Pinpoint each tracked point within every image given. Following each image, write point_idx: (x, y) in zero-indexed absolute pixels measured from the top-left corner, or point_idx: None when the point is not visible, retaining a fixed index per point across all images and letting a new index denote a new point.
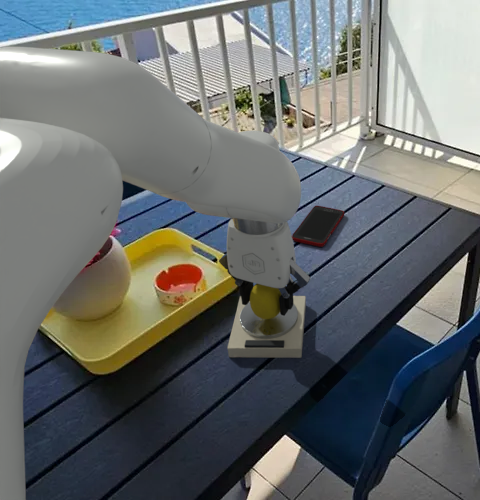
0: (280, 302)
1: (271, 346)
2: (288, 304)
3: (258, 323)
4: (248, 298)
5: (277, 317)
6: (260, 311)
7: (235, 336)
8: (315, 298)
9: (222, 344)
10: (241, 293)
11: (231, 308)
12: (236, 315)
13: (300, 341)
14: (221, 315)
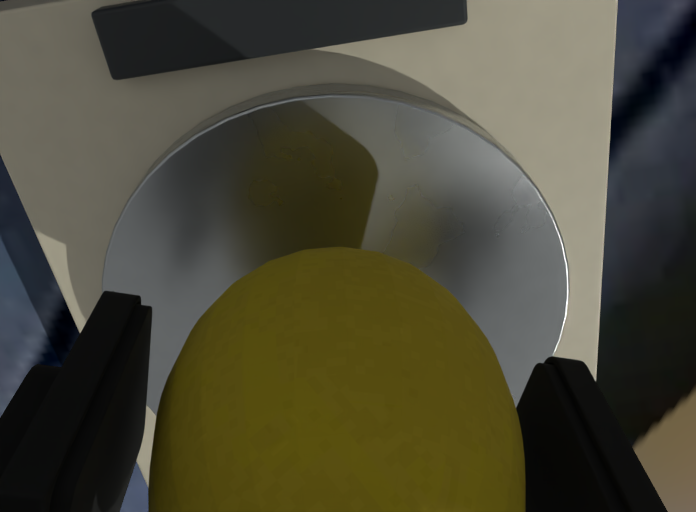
0: (67, 428)
1: None
2: (12, 418)
3: (396, 224)
4: (534, 430)
5: None
6: (355, 287)
7: (568, 70)
8: (136, 493)
9: (648, 40)
10: (639, 479)
11: (624, 356)
12: (593, 287)
13: None
14: (683, 296)
